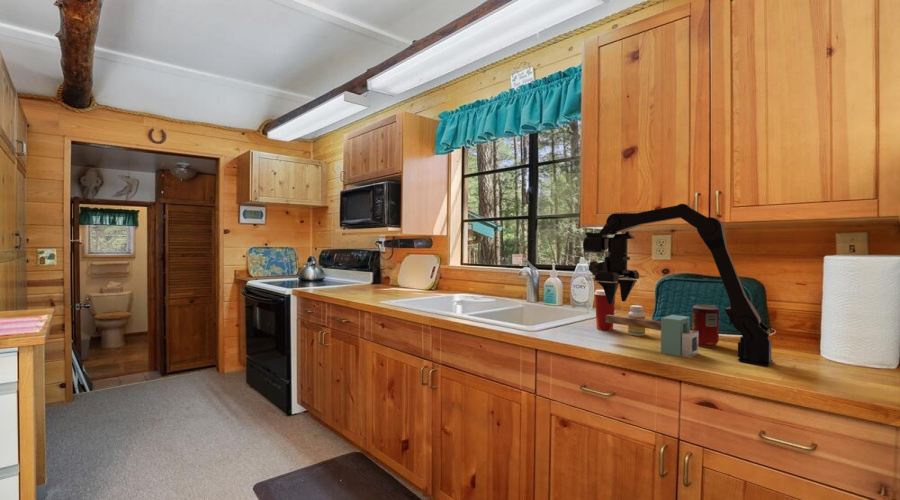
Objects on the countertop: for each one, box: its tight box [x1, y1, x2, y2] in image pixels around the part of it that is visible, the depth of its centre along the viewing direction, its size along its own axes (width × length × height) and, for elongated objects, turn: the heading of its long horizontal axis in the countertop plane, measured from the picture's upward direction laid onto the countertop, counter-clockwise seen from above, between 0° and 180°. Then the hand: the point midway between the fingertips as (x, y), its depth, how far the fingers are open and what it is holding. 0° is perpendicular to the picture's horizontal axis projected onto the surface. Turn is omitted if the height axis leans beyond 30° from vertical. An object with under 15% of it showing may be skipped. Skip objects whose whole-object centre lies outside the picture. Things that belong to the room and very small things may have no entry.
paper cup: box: [593, 289, 617, 331], centre depth 155 cm, size 8×8×14 cm
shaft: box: [606, 314, 661, 331], centre depth 129 cm, size 19×2×2 cm, turn 43°
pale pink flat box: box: [681, 329, 699, 358], centre depth 119 cm, size 2×6×6 cm, turn 133°
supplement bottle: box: [627, 304, 646, 337], centre depth 145 cm, size 5×5×10 cm
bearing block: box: [660, 314, 691, 357], centre depth 121 cm, size 5×8×10 cm, turn 133°
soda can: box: [691, 303, 720, 348], centre depth 130 cm, size 7×7×12 cm
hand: (617, 302), depth 134 cm, fingers open, 9 cm apart
